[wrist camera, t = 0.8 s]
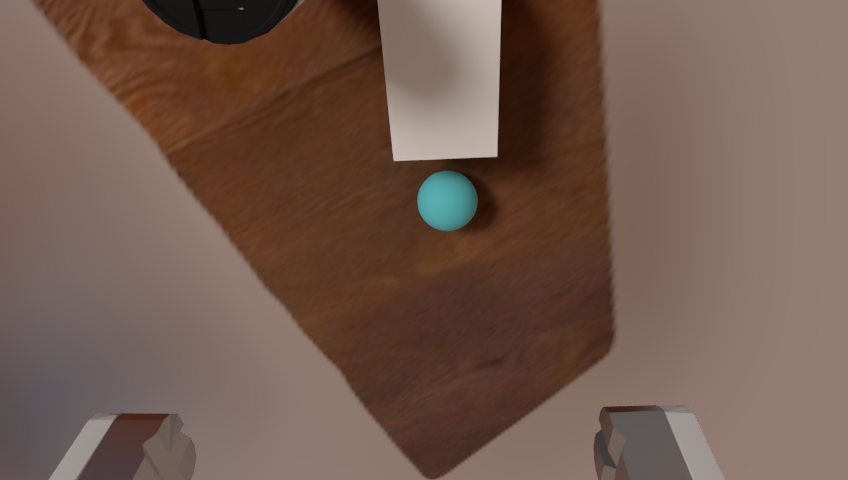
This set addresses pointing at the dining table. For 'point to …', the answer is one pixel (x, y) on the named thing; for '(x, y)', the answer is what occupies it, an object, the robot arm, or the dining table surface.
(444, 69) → the off-white rectangular block
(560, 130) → the dining table surface
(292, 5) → the travel mug
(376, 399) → the dining table surface
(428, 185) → the ball
